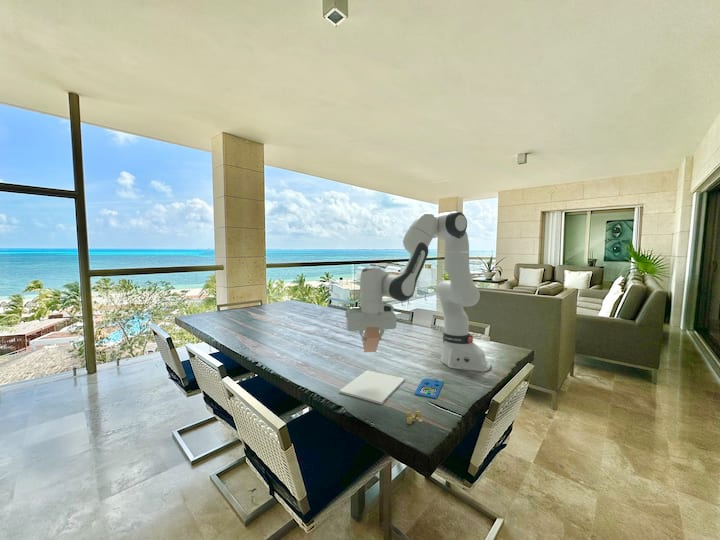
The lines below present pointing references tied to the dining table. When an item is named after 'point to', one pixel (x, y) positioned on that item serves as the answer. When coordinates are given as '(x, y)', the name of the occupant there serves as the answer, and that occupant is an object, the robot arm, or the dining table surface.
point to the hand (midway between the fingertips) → (371, 340)
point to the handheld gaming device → (429, 388)
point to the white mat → (372, 386)
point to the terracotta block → (371, 339)
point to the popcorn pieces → (413, 417)
